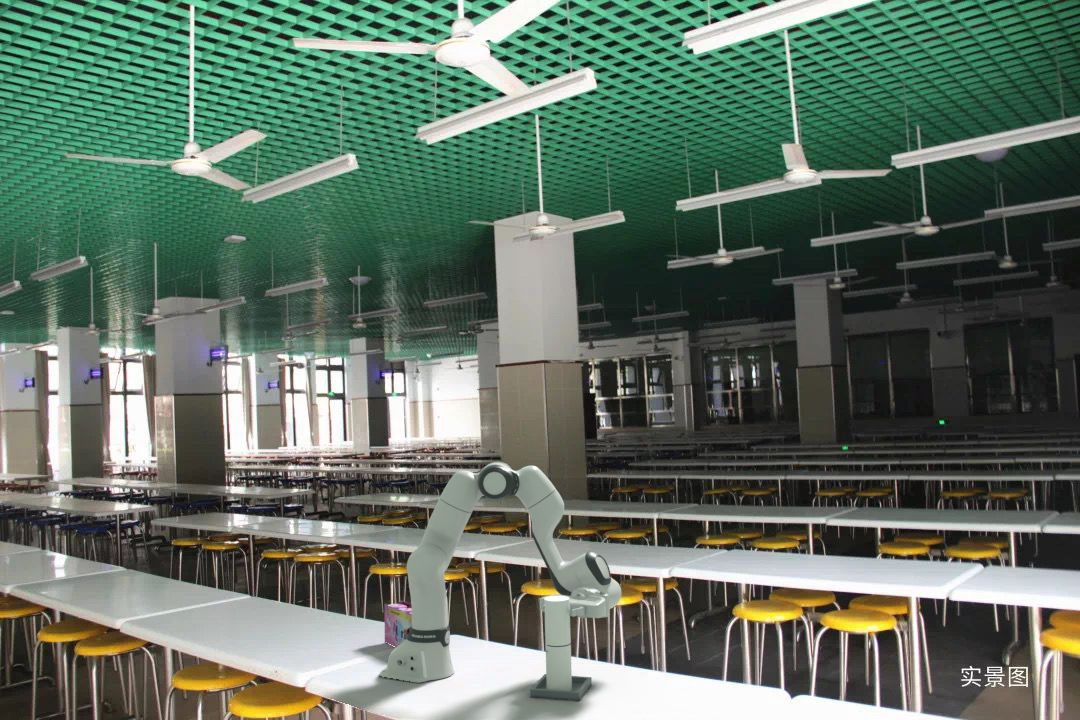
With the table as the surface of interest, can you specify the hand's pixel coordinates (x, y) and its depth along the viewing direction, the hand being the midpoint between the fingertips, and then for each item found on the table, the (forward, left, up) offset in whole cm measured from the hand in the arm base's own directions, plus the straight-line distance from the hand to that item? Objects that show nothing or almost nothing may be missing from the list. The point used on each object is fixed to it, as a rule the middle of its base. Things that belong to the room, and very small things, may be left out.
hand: (557, 611), depth 230 cm
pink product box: (-63, +34, -23) cm, 75 cm away
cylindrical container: (0, +1, -22) cm, 22 cm away
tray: (0, +1, -22) cm, 22 cm away
